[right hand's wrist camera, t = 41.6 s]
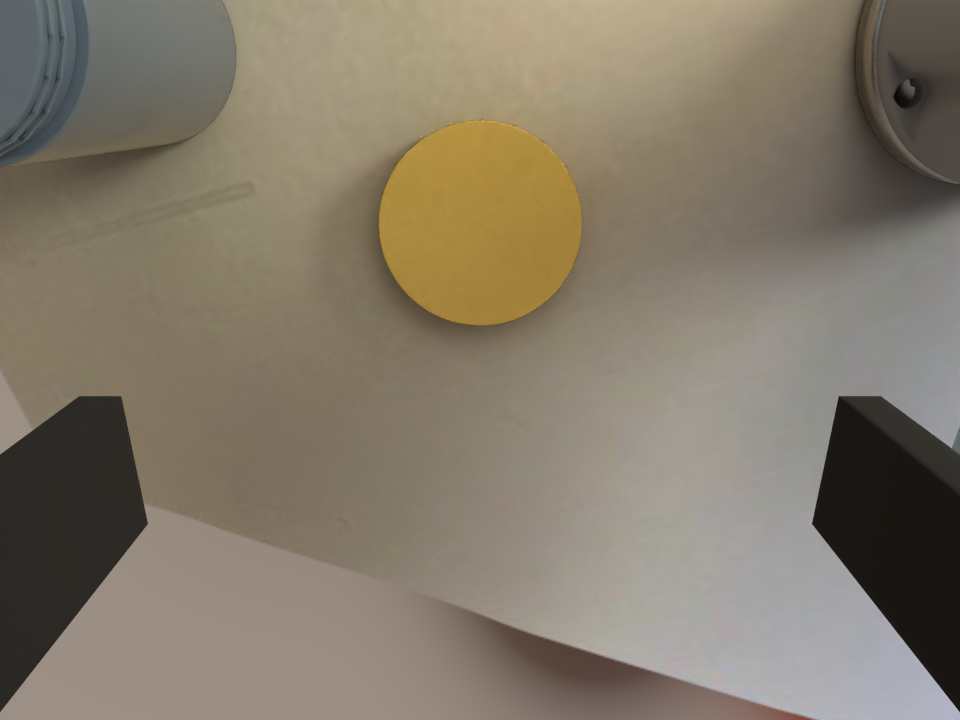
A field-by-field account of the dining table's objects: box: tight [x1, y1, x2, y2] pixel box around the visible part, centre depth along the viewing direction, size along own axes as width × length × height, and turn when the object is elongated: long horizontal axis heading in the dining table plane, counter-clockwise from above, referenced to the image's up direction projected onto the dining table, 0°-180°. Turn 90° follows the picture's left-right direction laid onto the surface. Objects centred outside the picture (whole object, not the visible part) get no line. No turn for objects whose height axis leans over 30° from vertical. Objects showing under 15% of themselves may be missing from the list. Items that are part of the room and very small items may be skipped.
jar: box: [0, 0, 236, 168], centre depth 27 cm, size 10×10×16 cm
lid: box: [378, 118, 582, 326], centre depth 37 cm, size 11×11×2 cm
